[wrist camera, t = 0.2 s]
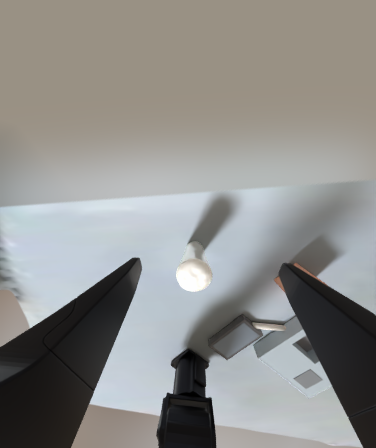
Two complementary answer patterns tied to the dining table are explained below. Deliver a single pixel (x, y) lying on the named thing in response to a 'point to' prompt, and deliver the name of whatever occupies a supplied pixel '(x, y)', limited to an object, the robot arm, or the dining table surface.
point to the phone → (234, 337)
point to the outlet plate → (293, 359)
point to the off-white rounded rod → (269, 326)
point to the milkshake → (194, 268)
